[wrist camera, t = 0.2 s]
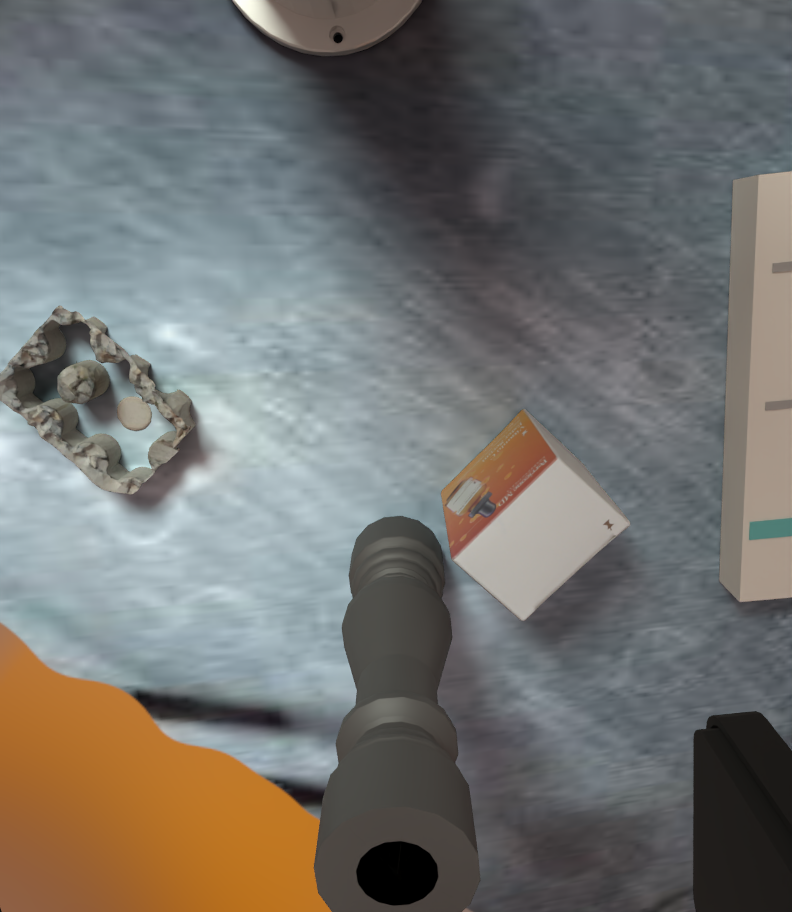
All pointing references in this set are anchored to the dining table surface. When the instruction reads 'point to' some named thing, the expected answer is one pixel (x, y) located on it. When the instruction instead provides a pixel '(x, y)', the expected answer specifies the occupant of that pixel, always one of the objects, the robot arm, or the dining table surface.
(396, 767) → the candle holder
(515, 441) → the small box
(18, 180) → the dining table surface
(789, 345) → the console
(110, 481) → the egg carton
